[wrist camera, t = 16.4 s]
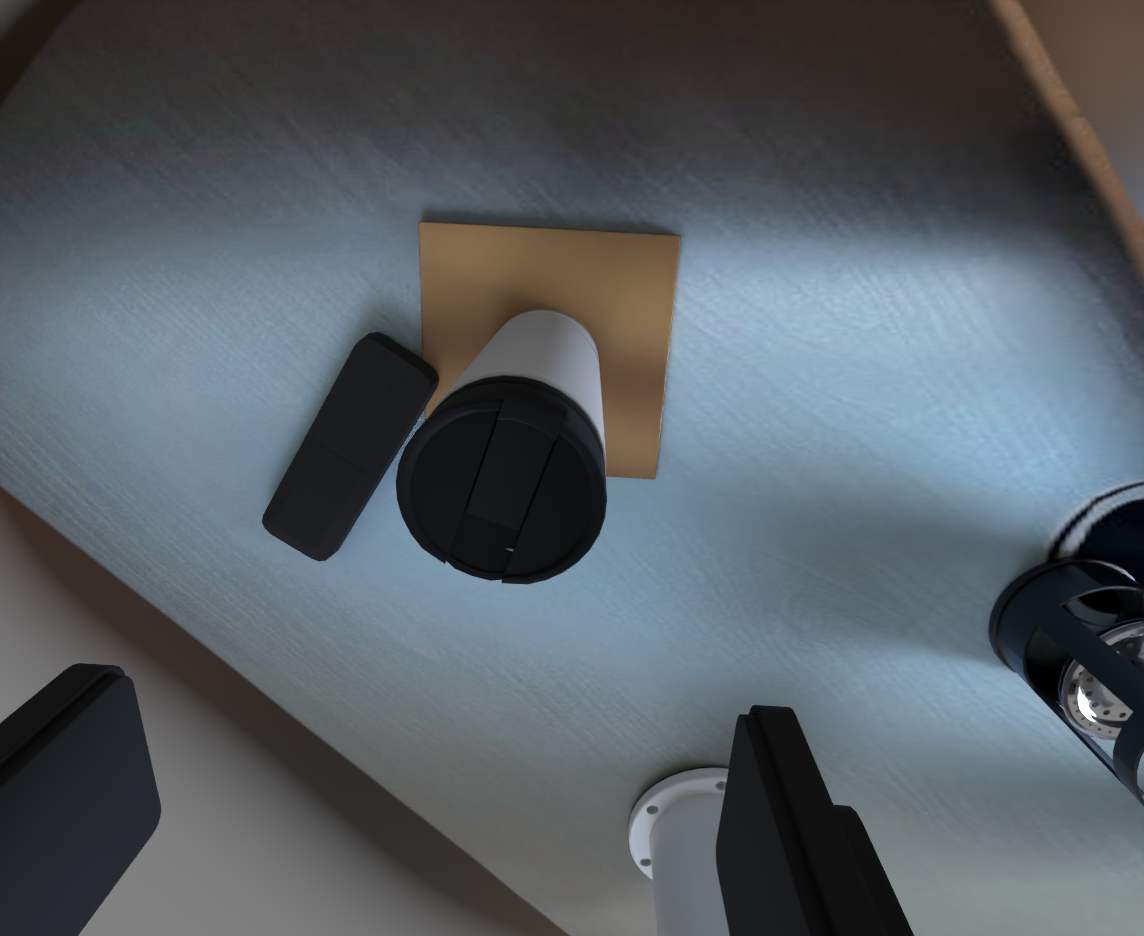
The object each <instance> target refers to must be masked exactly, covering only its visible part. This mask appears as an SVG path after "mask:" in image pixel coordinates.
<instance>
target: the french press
mask: <svg viewBox="0 0 1144 936" xmlns="http://www.w3.org/2000/svg"><path fill="white" fill-rule="evenodd" d="M1105 589H1114V591H1115V592H1116V594H1117V595H1118V598H1119V602H1120V616H1119V620H1118V623H1117V624H1114V625H1111V626H1109V627H1107V628H1105V629H1103V630H1101V631H1098V632H1097V633H1093V632H1092V631H1091V630H1090V629H1088V628H1087V627H1086V626H1085V625H1083V624H1082V623H1081V622H1080V621H1079V620H1077V619H1076V618H1075V617H1074V616H1072V615H1071V614H1070V613H1069V612H1067V611H1066V610H1065V609H1064V608H1063V607H1061V606H1063V605H1065V604H1066V603H1068V602H1070V601H1072V600H1073V599H1076V598H1078V597H1081V596H1083V595H1086V594H1088V593H1092V592H1096V591H1100V590H1105ZM1038 628H1040V629H1041V630H1042V631H1044V632H1045V633H1046V634H1047V635H1048V636H1049V637H1050V638H1051V639H1052V640H1054V641H1055V642H1056V643H1057V644H1058V645H1059V646H1060V647H1061V648H1062V649H1064V650H1065V651H1066V652H1067V653H1068V654H1069V655H1070V657H1069V658H1068V660H1067V662H1065V663H1057V664H1047V663H1040V662H1036V661H1033V660H1031V659H1029V658H1027V657H1026V655H1027V649H1028V646H1029V644H1030V641H1031V639H1032V637H1033V635H1034V634H1035V632H1036V631H1037V629H1038ZM989 639H990V643H991V645H992V648H993V651H994V653H995V654H996V655H997V657H998V658H999V659H1000V661H1001V662H1002V663H1003V664H1004V665H1006V666H1007V667H1008V668H1009V669H1011V670H1012V671H1014V672H1016V673H1017V674H1018V675H1019V676H1020V677H1021V678H1022V679H1023V680H1024V681H1025V682H1026V683H1027V684H1028V685H1029V686H1030V687H1031V688H1032V689H1033V690H1034V692H1035V693H1036V694H1037V695H1038V696H1039V697H1040V698H1041V699H1042V700H1043V701H1044V702H1045V703H1046V704H1047V705H1048V706H1049V707H1050V708H1051V709H1052V710H1053V711H1054V713H1055V714H1056V715H1057V716H1058V717H1059V718H1060V719H1061V720H1062V721H1063V722H1064V723H1065V724H1066V725H1067V726H1068V727H1069V728H1070V729H1071V730H1072V731H1073V733H1074V734H1075V735H1076V736H1077V737H1078V738H1079V739H1080V740H1081V741H1082V742H1083V743H1084V744H1085V745H1086V746H1087V747H1088V748H1089V749H1090V750H1091V751H1092V752H1093V754H1094V755H1095V756H1096V757H1097V758H1098V759H1099V760H1100V761H1101V762H1102V763H1103V764H1104V765H1105V766H1106V767H1107V768H1108V769H1109V770H1110V771H1111V772H1112V773H1113V775H1114V776H1115V777H1116V778H1117V779H1118V780H1119V781H1120V782H1121V783H1122V784H1123V785H1124V786H1125V787H1126V788H1127V789H1128V790H1129V791H1130V792H1131V793H1132V795H1133V796H1134V797H1135V798H1136V799H1137V800H1138V801H1139V802H1140V803H1141V804H1142V805H1143V806H1144V792H1143V791H1142V790H1141V788H1140V787H1139V786H1138V785H1137V770H1138V766H1139V762H1140V758H1141V756H1142V754H1143V752H1144V586H1142V585H1141V584H1139V583H1138V582H1136V581H1135V580H1134V578H1133V577H1132V576H1131V575H1130V574H1129V573H1128V572H1127V571H1125V570H1124V569H1123V568H1121V567H1120V566H1118V565H1116V564H1114V563H1112V562H1110V561H1108V560H1104V559H1101V558H1097V557H1089V556H1073V557H1064V558H1060V559H1056V560H1052V561H1049V562H1047V563H1044V564H1042V565H1039V566H1037V567H1035V568H1033V569H1032V570H1030V571H1028V572H1026V573H1025V574H1023V575H1022V576H1021V577H1019V578H1018V579H1017V580H1016V581H1014V582H1013V583H1012V584H1011V585H1010V586H1009V587H1008V588H1007V589H1006V591H1005V592H1004V593H1003V594H1002V595H1001V597H1000V598H999V600H998V602H997V603H996V605H995V606H994V609H993V612H992V614H991V617H990V623H989ZM1060 705H1061V706H1062V708H1063V709H1062V708H1061V706H1060ZM1089 735H1090V736H1093V737H1096V738H1100V739H1104V740H1116V742H1115V746H1114V750H1113V760H1112V759H1111V758H1110V757H1109V756H1108V755H1107V754H1106V753H1105V752H1104V751H1103V750H1102V749H1101V747H1100V746H1099V745H1098V744H1097V743H1096V742H1095V741H1094V740H1093V739H1092V738H1091V737H1090V736H1089Z"/></svg>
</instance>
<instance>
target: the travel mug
mask: <svg viewBox="0 0 1144 936" xmlns="http://www.w3.org/2000/svg"><path fill="white" fill-rule="evenodd" d="M605 475H606V452H605V438H604V424H603V410H602V396H601V382H600V369H599V358H598V351H597V348H596V345H595V342H594V340H593V338H592V336H591V335H590V333H589V332H588V330H587V329H586V328H585V327H584V326H583V324H582V323H580V322H579V321H578V320H576V319H575V318H574V317H572V316H570V315H568V314H566V313H564V312H562V311H558V310H555V309H547V308H538V309H531V310H528V311H525V312H522V313H519V314H518V315H516V316H514V317H513V318H511V319H510V320H509V321H508V322H506V323H505V324H504V325H503V326H502V327H501V328H500V330H499V331H498V332H497V333H496V334H495V336H494V337H493V338H492V339H491V340H490V342H489V343H488V344H487V345H486V346H485V347H484V349H483V350H482V351H481V352H480V353H479V355H478V356H477V357H476V358H475V359H474V360H473V362H472V363H471V364H470V365H469V366H468V368H467V369H466V370H465V371H464V372H463V374H462V375H461V376H460V377H459V378H458V379H457V381H456V382H455V383H454V384H453V385H452V387H451V388H450V389H449V390H448V391H447V392H446V394H445V395H444V396H443V397H442V399H441V400H440V401H439V402H438V403H437V405H436V406H435V407H434V409H433V410H432V412H431V413H430V414H429V416H428V417H427V419H426V420H425V422H424V423H423V424H422V425H421V426H420V428H419V429H418V430H417V431H416V433H415V434H414V436H413V437H412V438H411V440H410V441H409V443H408V444H407V445H406V447H405V449H404V452H403V454H402V457H401V459H400V462H399V465H398V471H397V478H396V490H397V501H398V504H399V508H400V511H401V514H402V518H403V519H404V521H405V523H406V525H407V527H408V529H409V531H410V533H411V534H412V536H413V537H414V538H415V539H416V541H417V542H418V543H419V545H420V546H421V547H422V548H423V549H424V550H425V551H427V552H428V553H430V554H431V555H433V556H434V557H436V558H437V559H438V560H440V561H441V562H443V563H444V564H445V562H446V561H447V562H448V563H449V564H451V565H452V566H453V567H454V568H455V569H457V570H460V571H462V572H464V573H467V574H469V575H471V576H475V577H479V578H483V579H487V580H502V583H511V584H531V583H535V582H539V581H544V580H547V579H549V578H552V577H554V576H556V575H558V574H561V573H563V572H564V571H566V570H567V569H569V568H570V567H572V566H573V565H574V564H576V563H577V562H578V561H579V560H580V559H581V558H582V557H583V556H584V555H585V554H586V553H587V552H588V551H589V550H590V549H591V547H592V545H593V544H594V542H595V541H596V539H597V537H598V536H599V534H600V531H601V528H602V525H603V522H604V519H605V513H606V503H607V493H606V477H605Z"/></svg>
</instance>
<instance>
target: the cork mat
mask: <svg viewBox="0 0 1144 936" xmlns="http://www.w3.org/2000/svg"><path fill="white" fill-rule="evenodd" d="M680 240H681V236H680V235H665V234H646V233H627V232H608V231H590V230H571V229H552V228H534V227H515V226H496V225H477V224H459V223H440V222H419V250H420V280H421V309H422V339H423V360H424V361H425V362H427V363H428V364H429V365H430V366H432V367H433V368H434V369H435V370H436V371H437V374H438V377H439V383H438V387H437V389H436V391H435V392H434V394H433V396H432V397H431V399H430V400H429V402H428V404H427V405H426V407H425V420H426V419H427V417H428V416H429V414H430V413H431V412H432V410H433V409H434V407H435V406H436V405H437V403H438V402H439V401H440V400H441V399H442V397H443V396H444V395H445V394H446V392H447V391H448V390H449V389H450V388H451V387H452V385H453V384H454V383H455V382H456V381H457V379H458V378H459V377H460V376H461V375H462V374H463V372H464V371H465V370H466V369H467V368H468V366H469V365H470V364H471V363H472V362H473V360H474V359H475V358H476V357H477V356H478V355H479V353H480V352H481V351H482V350H483V349H484V347H485V346H486V345H487V344H488V343H489V342H490V340H491V339H492V338H493V337H494V336H495V334H496V333H497V332H498V331H499V330H500V328H501V327H502V326H503V325H504V324H505V323H506V322H508V321H509V320H510V319H511V318H513V317H514V316H516V315H518V314H519V313H522V312H525V311H528V310H531V309H538V308H547V309H555V310H558V311H562V312H564V313H566V314H568V315H570V316H572V317H574V318H575V319H576V320H578V321H579V322H580V323H582V324H583V326H584V327H585V328H586V329H587V330H588V332H589V333H590V335H591V336H592V338H593V340H594V342H595V345H596V348H597V351H598V358H599V369H600V382H601V396H602V410H603V424H604V438H605V452H606V475H605V476H606V477H624V478H642V479H655V478H656V470H657V461H658V451H659V441H660V432H661V422H662V413H663V403H664V393H665V384H666V374H667V365H668V355H669V345H670V336H671V326H672V317H673V307H674V297H675V288H676V278H677V268H678V259H679V249H680Z"/></svg>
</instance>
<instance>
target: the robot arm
mask: <svg viewBox="0 0 1144 936" xmlns="http://www.w3.org/2000/svg"><path fill="white" fill-rule="evenodd" d="M160 814H161V804H160V799H159V795H158V791H157V787H156V782H155V777H154V773H153V768H152V764H151V760H150V755H149V751H148V746H147V742H146V738H145V733H144V728H143V724H142V720H141V715H140V710H139V706H138V702H137V697H136V693H135V688H134V684H133V681H132V679H131V678H129V677H127V676H125V674H124V671H123V670H122V669H121V668H120V667H118V666H114V665H99V664H82V663H79V664H75V665H72V666H70V667H69V668H68V669H66V670H65V671H63V672H62V673H61V674H60V675H58V676H57V677H56V678H55V679H54V680H52V681H51V682H50V683H49V684H48V685H46V686H45V687H44V688H43V689H41V690H40V691H39V692H38V693H37V694H35V695H34V696H33V697H32V698H30V699H29V700H28V701H27V702H26V703H24V704H23V705H22V706H21V707H20V708H18V709H17V710H16V711H15V712H14V713H12V714H11V715H10V716H9V717H7V718H6V719H5V720H4V721H2V722H1V723H0V936H78V935H79V933H80V932H81V931H82V929H83V928H84V927H85V925H86V924H87V923H88V921H89V920H90V919H91V917H92V916H93V915H94V913H95V912H96V910H97V909H98V908H99V906H100V905H101V904H102V902H103V901H104V899H105V898H106V897H107V896H108V894H109V893H110V891H111V890H112V889H113V887H114V886H115V885H116V883H117V882H118V881H119V879H120V878H121V877H122V875H123V874H124V872H125V871H126V870H127V868H128V867H129V866H130V864H131V863H132V862H133V860H134V859H135V857H136V856H137V855H138V853H139V852H140V851H141V849H142V848H143V847H144V845H145V844H146V843H147V841H148V840H149V838H150V837H151V836H152V834H153V833H154V831H155V829H156V827H157V825H158V822H159V819H160ZM628 837H629V846H630V852H631V854H632V857H633V859H634V861H635V863H636V864H637V866H638V867H639V868H640V870H641V871H642V872H643V873H644V874H645V875H646V876H648V877H649V878H650V879H651V880H652V881H653V889H654V899H655V910H656V920H657V931H658V936H914V934H913V932H912V930H911V928H910V926H909V924H908V921H907V919H906V917H905V915H904V913H903V910H902V908H901V906H900V904H899V902H898V899H897V897H896V895H895V893H894V891H893V889H892V886H891V884H890V882H889V880H888V878H887V875H886V873H885V871H884V869H883V867H882V864H881V862H880V860H879V858H878V856H877V854H876V851H875V849H874V847H873V845H872V843H871V840H870V838H869V836H868V834H867V832H866V829H865V827H864V825H863V823H862V821H861V819H860V818H859V816H858V814H857V812H856V811H855V810H854V809H853V808H852V807H850V806H844V805H833V803H832V800H831V798H830V796H829V793H828V791H827V789H826V786H825V784H824V781H823V779H822V777H821V774H820V772H819V770H818V767H817V765H816V762H815V760H814V758H813V755H812V753H811V750H810V748H809V746H808V743H807V741H806V739H805V736H804V734H803V731H802V729H801V727H800V724H799V722H798V720H797V717H796V715H795V713H794V711H793V709H791V708H790V707H777V706H760V705H754V706H752V707H751V709H750V713H749V715H744V714H740V715H739V716H738V719H737V723H736V729H735V735H734V741H733V747H732V753H731V758H730V764H729V769H725V768H699V769H694V770H689V771H684V772H681V773H679V774H676V775H673V776H670V777H668V778H666V779H665V780H663V781H661V782H659V783H657V784H656V785H654V786H653V787H652V788H651V789H649V790H648V791H647V792H646V793H645V794H644V795H643V796H642V797H641V798H640V800H639V801H638V802H637V803H636V805H635V807H634V809H633V811H632V813H631V816H630V820H629V824H628Z"/></svg>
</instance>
